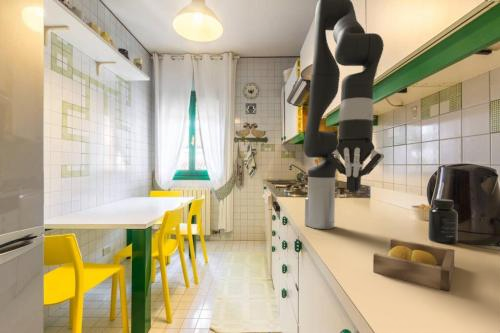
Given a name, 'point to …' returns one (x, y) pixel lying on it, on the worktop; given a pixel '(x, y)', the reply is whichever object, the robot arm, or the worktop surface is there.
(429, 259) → the bread roll
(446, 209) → the supplement bottle
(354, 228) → the worktop surface
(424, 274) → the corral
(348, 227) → the worktop surface
